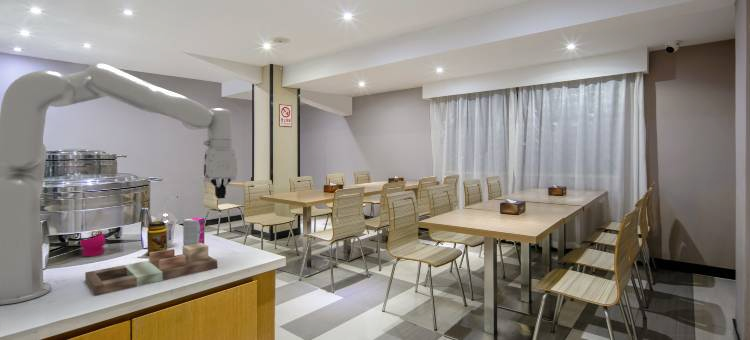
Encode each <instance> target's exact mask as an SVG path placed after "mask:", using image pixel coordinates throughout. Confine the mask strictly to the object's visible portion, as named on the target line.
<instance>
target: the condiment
mask: <svg viewBox="0 0 750 340" xmlns="http://www.w3.org/2000/svg"><path fill="white" fill-rule="evenodd" d="M147 225H148V227H147V228H148V230H147V235H146V237H147V251H146V252H145V253H144V254H142V255H140V256H138V257H137V259H138V258H139V259H140V258H142V259H143V258H149V253H151V252H156V251H162V250H168V248H167V230H166V228H165V222H163V221H156V222H153V221H150V222H149V223H148V224H147Z"/></svg>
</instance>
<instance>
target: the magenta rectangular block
mask: <svg viewBox="0 0 750 340" xmlns="http://www.w3.org/2000/svg"><path fill="white" fill-rule="evenodd" d="M105 244H106V238H105V235H104V234H103V233H102V231H101V232H100V234H99V235H98V236H95V237H93V238H91V239H87V240H81V239H80V241H79V246H80V247H81V248H82V249H83V250H82V252H81V253H82V254H81V255H83V257H85V256H89V257H96V255H97V256H100V254H101V255H103V254H104V253H105V248H104V245H105Z"/></svg>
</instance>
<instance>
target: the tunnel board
mask: <svg viewBox="0 0 750 340" xmlns="http://www.w3.org/2000/svg"><path fill="white" fill-rule="evenodd" d="M175 251H176V250H175V248H169V249H168V248H167V250H162V251H156V252H151V253H149V257H148V259H149V260H145V261H139V262H134V263H128V264H123V265H118V266H113V267H112V266H111V267H106V268H103V269H102V268H101V269H96V270H90V271H87V272H86V271H85V272H84V275H85V277H84V279H85V280H84V281H85V282H86V284H87V286H88V287H89V289H90V290H91V292H92V293H93V295H94V296H99V295H104V294H108V293H112V292H118V291H121V290H126V289H130V288H135V287H139V286H143V285H148V284H152V283H153V284H154V283H156V282H161V281H165V280H170V278H171V279H174V278H179V276H180V277H183V275H184V276H188V275H192V274H197V273H201V272H206V271H210V270H215V269H218V259H215V258H213V257H212V256H209V255H208V258H206V259H202V260H197V261H192V262H189V261H187V260H186V256H185V255H183V253H182V254H175Z"/></svg>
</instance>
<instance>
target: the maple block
mask: <svg viewBox="0 0 750 340" xmlns="http://www.w3.org/2000/svg"><path fill="white" fill-rule="evenodd" d="M182 254H183V255H185V256H186V260H187V261H189V262H192V261H197V260H202V259H206V258H208V256H209V246H208V245H206V244H205V243H204V244H203V243H197V244H192V245H186V246H183V245H182Z"/></svg>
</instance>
